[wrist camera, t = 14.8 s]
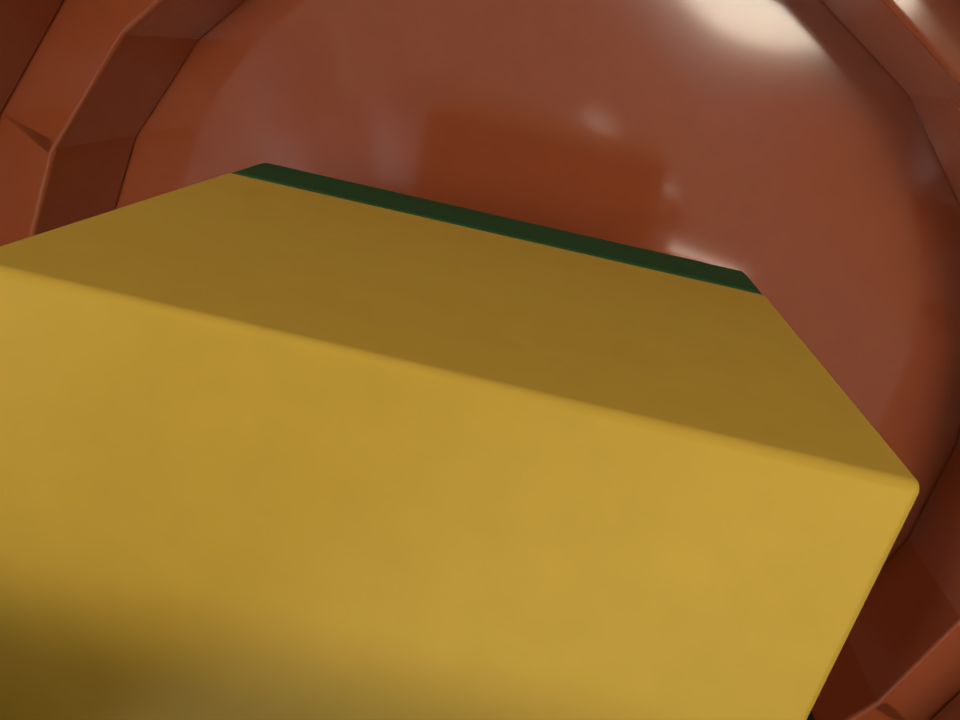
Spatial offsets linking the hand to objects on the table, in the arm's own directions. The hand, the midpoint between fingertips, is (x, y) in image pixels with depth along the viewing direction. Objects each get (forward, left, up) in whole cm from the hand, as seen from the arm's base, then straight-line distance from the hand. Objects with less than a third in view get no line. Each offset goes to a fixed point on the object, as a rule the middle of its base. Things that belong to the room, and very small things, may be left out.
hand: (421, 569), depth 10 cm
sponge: (0, 0, -1) cm, 1 cm away
